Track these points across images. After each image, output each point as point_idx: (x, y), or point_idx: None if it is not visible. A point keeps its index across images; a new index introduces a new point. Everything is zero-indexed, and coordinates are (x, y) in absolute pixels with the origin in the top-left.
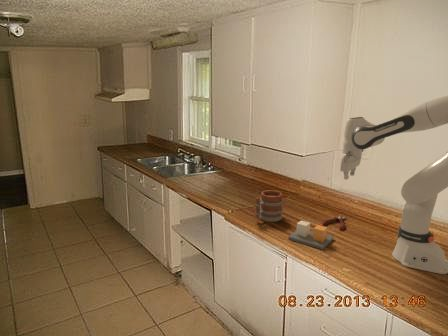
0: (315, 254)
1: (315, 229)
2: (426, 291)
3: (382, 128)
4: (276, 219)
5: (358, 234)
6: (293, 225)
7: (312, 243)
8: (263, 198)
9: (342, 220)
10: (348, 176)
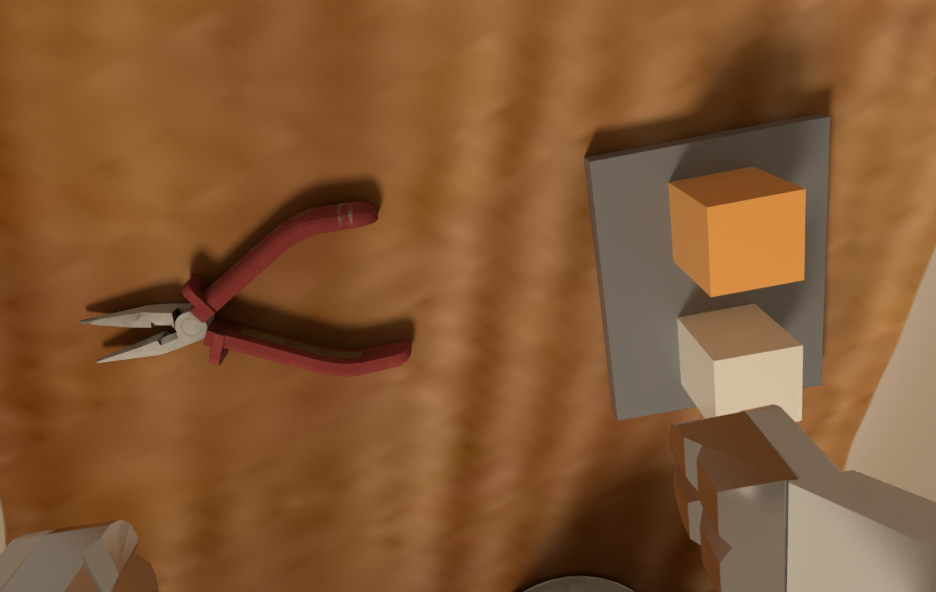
0: (922, 110)
1: (799, 261)
2: None
3: None
4: (608, 590)
5: (320, 56)
6: (576, 478)
7: (825, 207)
8: None
9: (202, 291)
10: (739, 470)
